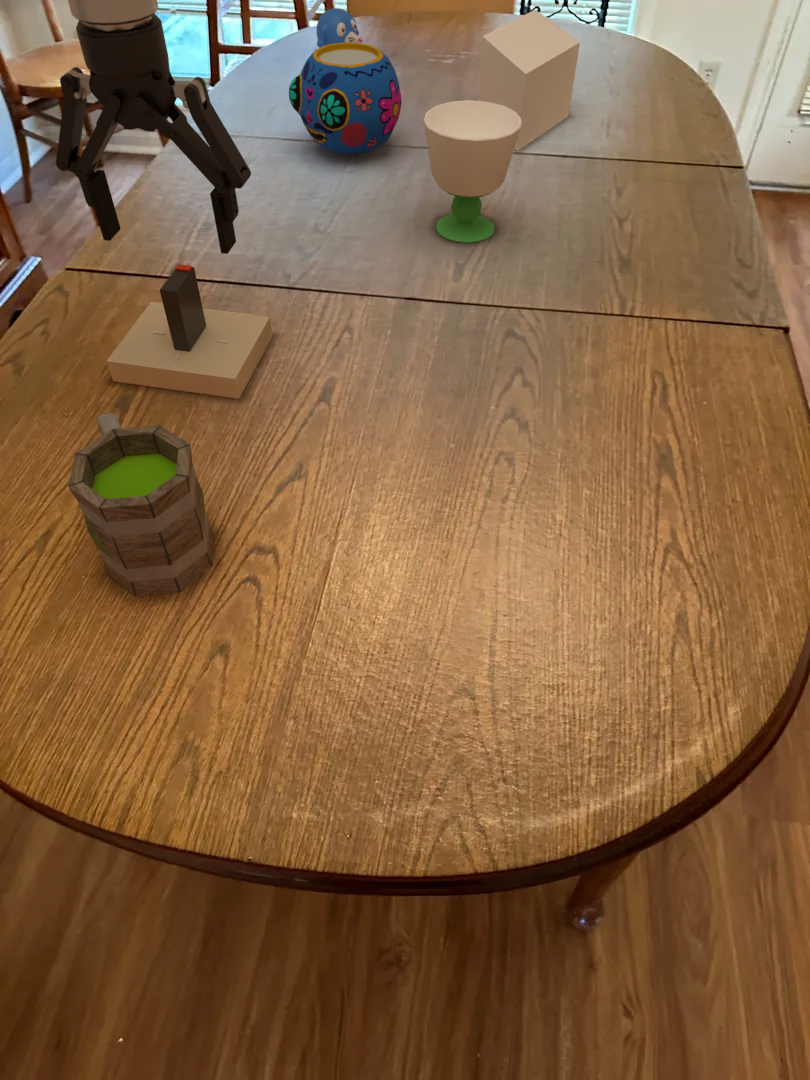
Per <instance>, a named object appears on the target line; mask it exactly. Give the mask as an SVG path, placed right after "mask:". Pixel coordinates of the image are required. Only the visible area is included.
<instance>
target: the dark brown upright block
mask: <svg viewBox="0 0 810 1080" xmlns="http://www.w3.org/2000/svg"><path fill="white" fill-rule="evenodd" d="M159 293H160V299H161V303H163V306H164V310H165V314H166V318H167V322H168V326H169V330H170V334H171V338H172V342H173V346H174V349H175V350H182V351H191V349H192V347H193V346H194V344H195V343H196V341H197V340H198V338H199V337H200V335H201V334H202V332H203V330H204V329H205V327H206V322H205V317H204V312H203V308H204V307H203V303H202V299H201V298H202V297H201V293H200V289H199V284H198V279H197V274H196V269H195V266H192V265H189V264H181V263H178V264H177V265H176V266H175V267H174V270H173V271H172V272H171V274H170V275H169V277H168V278H167V279H166V280H165V282H164V283H163V285H162V286H161V287H160V288H159Z"/></svg>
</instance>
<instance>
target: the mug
mask: <svg viewBox="0 0 810 1080" xmlns="http://www.w3.org/2000/svg"><path fill="white" fill-rule="evenodd" d="M96 422H97V425H98V428H99V431H100V433H101V436H99V437H98V438H96V439H95V440H93V441H92V442H90V443H89V444H87V445H86V446H84V447H82V448H81V449H79V450H78V451H76V452H75V453H74V457H73V461H72V466H71V470H70V475H69V479H68V484H67V487H68V489H69V490H70V492H71V493H72V495H73V496H74V498H75V500H76V501H77V503H78V506H79V507H80V510H81V513H82V514H83V517H84V520H85V524H86V527H87V531H88V534H89V536H90V537H91V539H92V540H93V543H94V545H95V546H96V547H97V549H98V552H99V553H100V556H101V558H102V560H103V564H104V568H105V572H106V576H108V578H110V579H111V580H113V581H114V582H115V583H117V584H118V585H120V586H121V587H122V588H123V589H125V590H126V591H127V592H129V593H130V594H131V595H133V596H134V597H145V596H155V595H166V594H167V595H168V594H176V593H181V592H183V591H184V590H185V589H186V588H187V587H189V586H190V585H191V584H192V583H194V582H195V581H196V580H197V579H198V578H200V577H201V576H202V575H203V574H204V573H206V572H207V571H208V570H209V569H211V568H212V567H213V564H214V547H215V544H214V542H215V533H214V530H213V529H212V527H211V525H210V523H209V518H208V515H207V512H206V506H205V498H204V492H203V489H202V487H201V484H200V482H199V480H198V477H197V474H196V470H195V466H194V462H193V456H192V445H191V443H189V442H187V441H186V440H184V439H183V438H181V437H179V436H178V435H176V434H174V433H173V432H172V431H169V430H168V429H166V428H165V427H163V426H161V425H160V424H159V425H148V426H135V427H133V426H132V427H122V426H121V424H120V422H119V420H118V417H117V416H116V414H114V413H112V412H108V413H107V412H106V413H103V414H101V415H99V416H97V419H96Z"/></svg>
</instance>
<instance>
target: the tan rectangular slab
mask: <svg viewBox="0 0 810 1080" xmlns="http://www.w3.org/2000/svg"><path fill="white" fill-rule="evenodd" d="M203 312H204V317H205V322H206V327H205V329H204V330H203V332H202V334H201V335H200V337H199V338H198V340H197V341H196V343H195V344H194V346H193V347H192V349H191V351H182V350H175V349H174V346H173V342H172V338H171V334H170V330H169V326H168V322H167V318H166V314H165V310H164V306H163V302H158V301H150V302H149V303H148V305H147V306H146V307H145V309H144V310H143V311H142V313H141V314H140V316H139V317H138V318H137V320H136V321H135V322H134V323H133V325H132V326H131V327H130V329H129V330H128V332H127V333H126V334H125V335H124V337H123V338H122V339H121V341H120V342H119V344H118V345H117V346H116V348H114V350H113V351H112V353H111V354H110V355H109V357H108V358H107V359H106V365H107V366H108V367H107V368H108V370H109V373H110V376H111V379H112V382H116V383H122V384H130V385H138V386H142V387H143V386H144V387H152V388H156V389H157V388H159V389H165V390H172V391H179V392H186V393H193V394H200V395H208V396H213V397H222V398H228V399H236V400H239V399H241V397H242V394H243V393H244V390H245V389H246V387H247V385H248V384H249V381H250V380H251V377H252V376H253V374H254V372H255V370H256V368H258V367H257V366H258V365H259V363H260V361H261V359H262V357H263V355H264V353H266V350H267V348H268V346H269V344H270V342H271V341H272V339H273V330H272V321H271V316H267V315H261V314H260V315H259V314H253V313H246V312H245V313H243V312H236V311H228V310H222V309H220V310H219V309H213V308H205V307H203Z"/></svg>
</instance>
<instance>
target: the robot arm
mask: <svg viewBox="0 0 810 1080" xmlns="http://www.w3.org/2000/svg"><path fill="white" fill-rule="evenodd" d="M67 1H68V5H69V8H70V10H69V11H70V13H71V16H72V17H73V18H75V19H76V20H77V24H76V26H75V30H76V35H77V38H78V42H79V45H80V49H81V53H82V56H83V57H82V58H83V60H84V64H85V66H86V68H87V69H88V70H89V74H86V73H84V72H83V70H82V69H81V68H80V67H77V66H74V67H72V68H71V69H70V70H68V71H67V72H65V73H64V74H63V75H62V76H60V78H59V83H60V88H61V93H62V99H63V104H62V111H61V112H62V113H61V121H60V125H59V126H60V127H59V135H58V142H57V149H56V158H55V165H56V168H57V169H58V170H59V171H61V172H66V171H68V172H70V173H72V174H74V175H75V177H76V178H77V179H78V181H79V184H80V187H81V191H82V194H83V197H84V200H85V202H86V204H87V206H88V207H89V208H93V209H94V212H95V215H96V219H97V222H98V226H99V229H100V231H101V235H102V239H103V240H104V241H108V242H110V241H112V239H113V238H114V237H115V236H116V235H118V233H119V232H120V231H121V224H120V221H119V218H118V217H119V216H118V213H117V211H116V207H115V202H114V200H113V195H112V193H111V189H110V187H109V182H108V178H107V176H106V171H105V170H104V169H97V170H96V171H95V169H96V168H97V167H98V165H99V164H98V163H99V161H100V159H101V158H102V156H103V153H104V152H105V150H106V148H107V146H108V144H109V142H110V140H111V139H112V137H113V135H114V134H115V131H116V129H117V128H118V125H120V126H122V127H123V130H128V131H132V130H137V129H139V130H142V131H145V132H149V133H150V132H151V133H154V132H155V131H156V130H158V131H159V132H160V134H161V135H162V136H163V137H164V138H165V139H167V140H170V141H172V143H174V144H175V145H176V147H177V148H178V149H179V150H180V151H181V152H182V153H183V155H184V156H185V157H187V159H188V160H189V161H190V162H191V164H192V165H194V166H195V168H196V169H197V170H198V171H199V172H200V173H201V174H202V175H203V176H204V177H205V178H206V179H207V180H208V182H209V183H210V184H211V185H212V186H213V187H214V188H213V189H212V190H211V192H210V193H209V195H210V201H211V206H212V212H213V217H214V223H215V229H216V233H217V239H218V244H219V250H220V254H225V255H229V253H230V251H231V250H232V249H233V247H234V245H235V244H236V242H237V237H236V231H235V226H234V221H235V220H236V218H237V217H239V213H240V210H239V203H238V197H237V191H236V189H242V188H243V187H244V186H245V184H246V183H247V182H248V180H249V179H250V178H251V175H252V171H251V169H250V167H249V165H248V163H247V162H246V160H245V159H244V157H243V155H242V154H241V152H240V150H239V148H238V146H237V145H236V143H235V141H234V139H233V138H232V137H231V135H230V134H229V131H228V130H227V128H226V126H225V125H224V124H223V122H222V119H221V118H220V116H219V115H218V113H217V111H216V109H215V108H214V105H212V103H211V100H210V95H209V92H208V88H207V84H206V81H205V80H204V79H203V78H202V77H201V76H196V77H194V78H193V79H192V80H191V81H180V82H179V81H178V82H177V81H175V79H174V76H173V75H172V73H171V69H170V59H169V52H168V48H167V42H166V38H165V33H164V27H163V23H162V19H160V17H158V15H157V14H155V13H156V12H157V11H158V9H159V4H158V0H67ZM91 93H92V95H93V96H94V98H95V99H96V100H97V101H98V102H99V104H101V105H102V107H103V108H102V110H101V112H100V114H99V116H98V118H97V120H96V122H95V123H96V124H95V127H94V128H93V131H92V133H91V134H90V137H89V139H88V141H87V143H86V145H85V147H84V149H83V151H82V153H81V155H79V154H80V148H81V141H82V135H83V129H84V123H85V116H86V109H87V103H88V97H89V96H90V95H91ZM177 99H179V100H180V101H181V102H182V107H183V108H185V109H188V111H189V113H190V116H191V118H192V120H193V122H194V123H195V125H196V128H197V129H198V131H199V132H200V133H201V135H202V136H203V138H202V136H201V135H200V134H199V133H198V132H197V131H196V130H195V128H194V127H192V125H191V124H190V123H189V122H188V117H187V116H186V115H185V113H184V111H182V110H181V109H180V108H179V106H178V105H177V104H176V101H177ZM168 118H169V119H170V120H171V122H170V121H169V120H168Z"/></svg>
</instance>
